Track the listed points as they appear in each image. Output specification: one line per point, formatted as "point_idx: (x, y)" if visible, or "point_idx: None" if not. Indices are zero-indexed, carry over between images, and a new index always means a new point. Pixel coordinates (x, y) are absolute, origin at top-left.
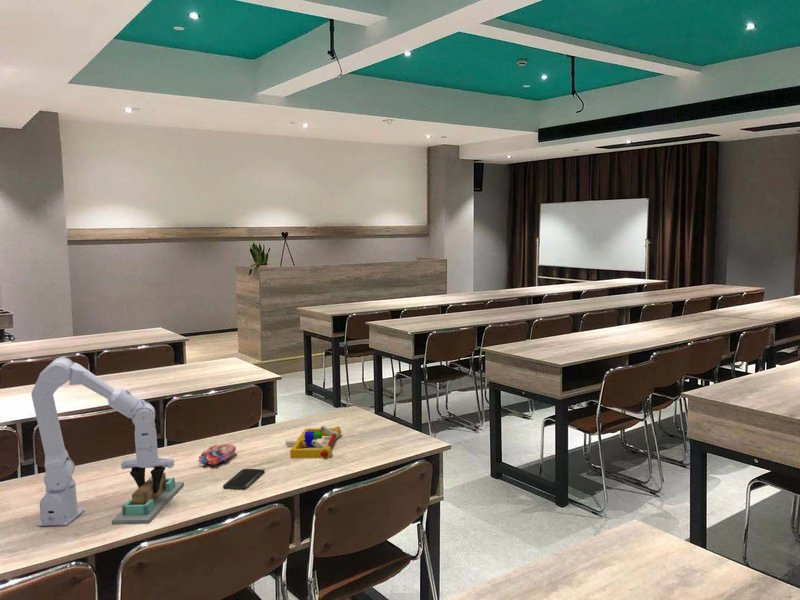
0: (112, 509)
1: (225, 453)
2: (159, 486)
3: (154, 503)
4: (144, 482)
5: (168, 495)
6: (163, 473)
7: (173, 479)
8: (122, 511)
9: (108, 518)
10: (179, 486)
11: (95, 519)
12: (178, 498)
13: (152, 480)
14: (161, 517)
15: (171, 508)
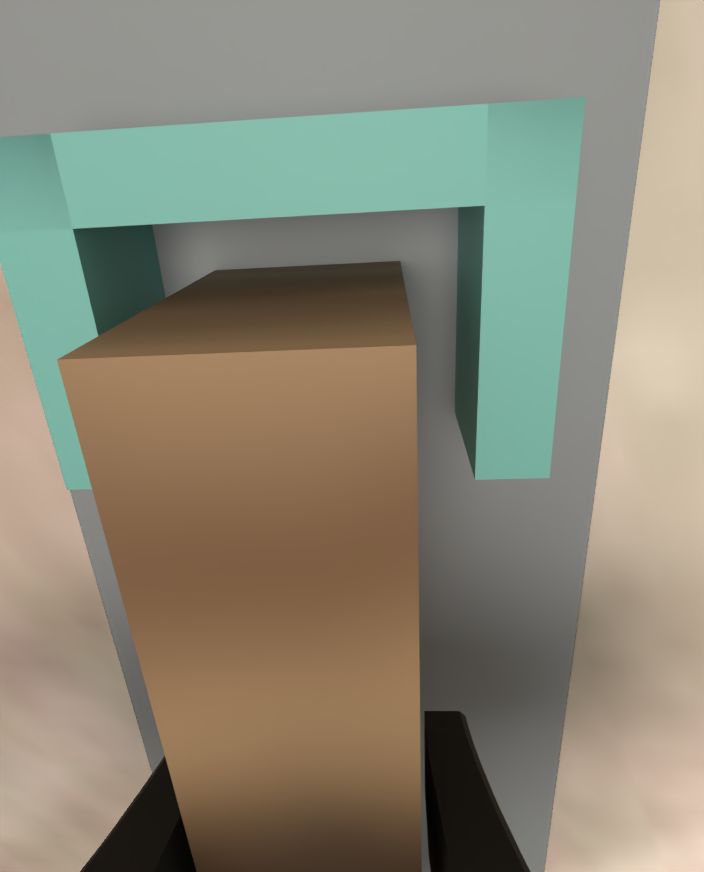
0: (3, 722)
1: None
2: (480, 769)
3: None
4: (175, 852)
5: (544, 536)
6: (384, 427)
7: (571, 180)
8: None
9: None
10: (636, 150)
11: (11, 862)
12: (673, 498)
13: (309, 822)
14: (600, 868)
15: (650, 732)
